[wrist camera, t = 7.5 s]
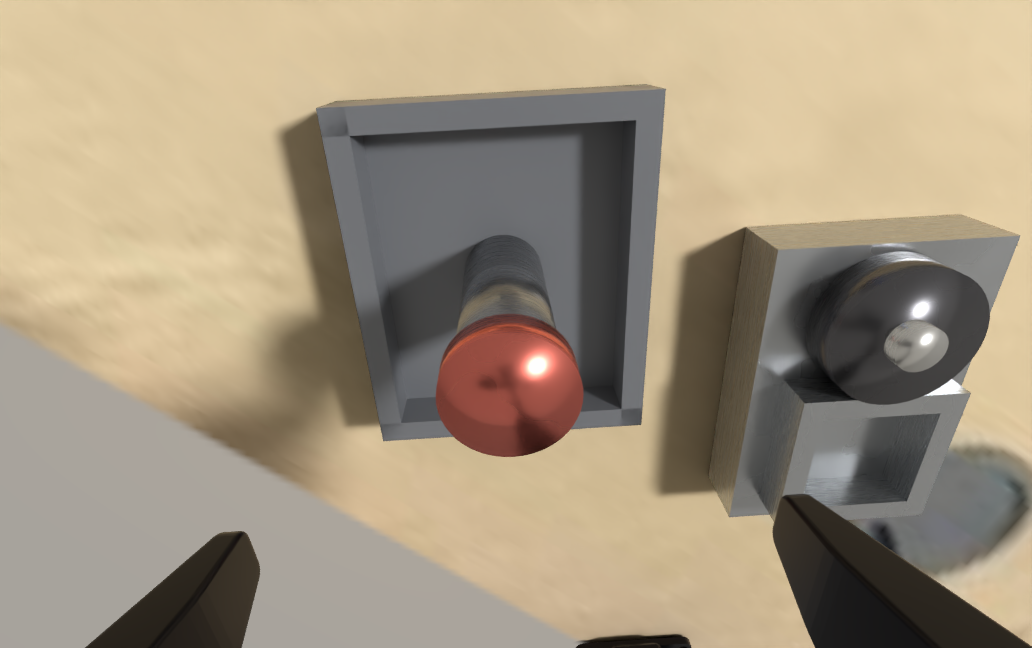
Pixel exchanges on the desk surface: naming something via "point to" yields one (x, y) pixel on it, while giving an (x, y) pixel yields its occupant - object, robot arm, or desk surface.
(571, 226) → the tray
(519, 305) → the lock pin
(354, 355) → the desk surface
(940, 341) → the tensioner block
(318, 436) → the desk surface
